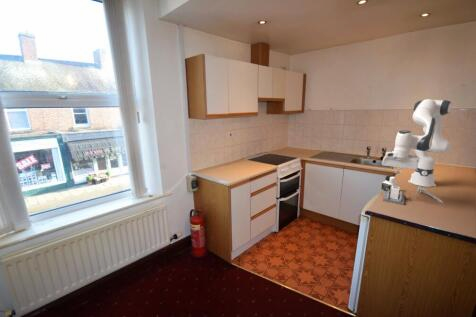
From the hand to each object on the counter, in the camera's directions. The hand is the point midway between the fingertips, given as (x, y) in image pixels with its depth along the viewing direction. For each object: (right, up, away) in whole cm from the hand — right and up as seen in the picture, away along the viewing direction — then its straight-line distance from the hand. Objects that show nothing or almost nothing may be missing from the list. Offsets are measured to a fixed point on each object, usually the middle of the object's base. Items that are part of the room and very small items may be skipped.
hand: (397, 173), depth 158 cm
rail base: (0, -18, +4) cm, 19 cm away
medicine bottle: (+6, -15, +18) cm, 25 cm away
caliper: (+28, -18, +6) cm, 34 cm away
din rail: (0, -17, +4) cm, 17 cm away
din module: (0, -17, +4) cm, 17 cm away
